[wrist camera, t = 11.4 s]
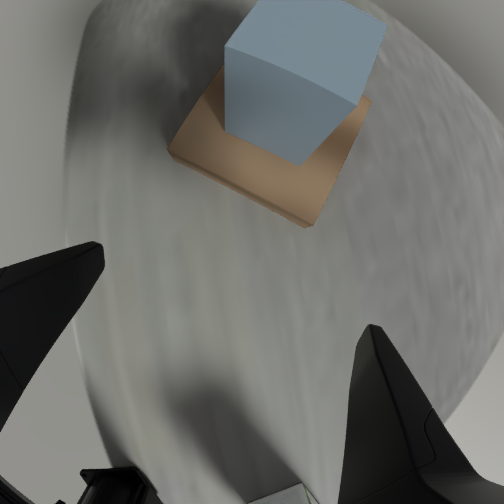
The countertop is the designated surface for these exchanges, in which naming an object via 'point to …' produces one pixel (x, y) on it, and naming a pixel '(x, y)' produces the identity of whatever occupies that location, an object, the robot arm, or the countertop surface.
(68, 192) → the countertop surface
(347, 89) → the slate block
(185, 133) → the walnut block
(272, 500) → the syrup box
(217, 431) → the countertop surface
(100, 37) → the countertop surface
